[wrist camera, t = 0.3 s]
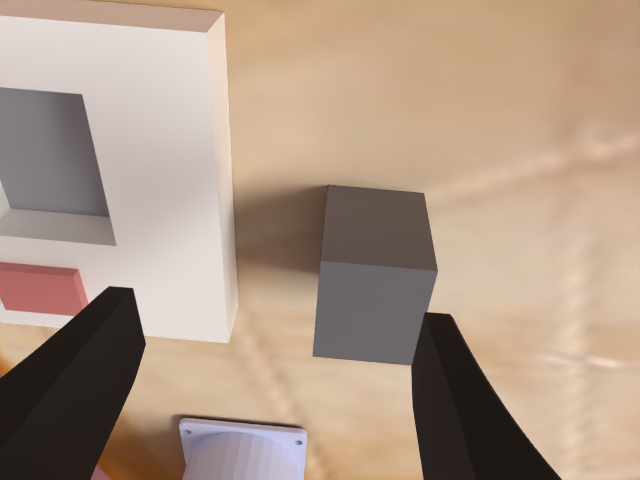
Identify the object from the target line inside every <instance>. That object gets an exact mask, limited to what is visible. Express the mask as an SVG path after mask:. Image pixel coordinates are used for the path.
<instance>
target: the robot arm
mask: <svg viewBox="0 0 640 480" xmlns="http://www.w3.org/2000/svg"><path fill="white" fill-rule="evenodd" d="M145 345H146V343H145V338H144V334H143V329H142V325H141V320H140V316H139V312H138V307H137V303H136V298H135V294H134V289H133V288H127V287H115V286H108V287H107V288H106V289H105V290H104V291H103V292H101V293H100V294H99V295H98V296H97V297H96V298H95V299H93V300H92V301H91V302H90V303H89V304H88V305H87V306H86V307H85V308H83V309H82V310H81V311H80V312H79V313H78V314H77V315H76V316H75V317H73V318H72V319H71V320H70V321H69V322H68V323H67V324H66V325H64V326H63V327H62V328H61V329H60V330H59V331H57V332H56V333H55V334H54V335H53V336H52V337H50V338H49V339H48V340H47V341H46V342H45V343H44V344H42V345H41V346H40V347H39V348H38V349H36V350H35V351H34V352H33V353H32V354H30V355H29V356H28V357H27V358H25V359H24V360H23V361H22V362H20V363H19V364H18V365H16V366H15V367H14V368H13V369H11V370H10V371H9V372H8V373H6V374H5V375H4V376H3V377H1V378H0V480H90V479H91V477H92V474H93V472H94V469H95V467H96V465H97V462H98V460H99V458H100V456H101V454H102V452H103V449H104V447H105V445H106V443H107V441H108V438H109V436H110V434H111V432H112V430H113V428H114V425H115V423H116V421H117V419H118V417H119V415H120V412H121V410H122V408H123V406H124V404H125V401H126V399H127V397H128V395H129V392H130V390H131V388H132V386H133V383H134V381H135V378H136V375H137V372H138V369H139V366H140V362H141V359H142V355H143V352H144V349H145ZM411 370H412V400H413V411H414V418H415V425H416V432H417V438H418V445H419V451H420V458H421V464H422V471H423V478H424V480H562V479H561V478H560V477H559V476H558V475H557V473H556V472H555V471H554V470H553V469H552V468H551V466H550V465H549V464H548V463H547V462H546V460H545V459H544V458H543V457H542V455H541V454H540V453H539V452H538V451H537V449H536V448H535V447H534V446H533V444H532V443H531V442H530V440H529V439H528V438H527V436H526V435H525V434H524V433H523V431H522V430H521V428H520V427H519V426H518V424H517V423H516V422H515V420H514V419H513V417H512V416H511V414H510V413H509V412H508V410H507V409H506V407H505V406H504V404H503V403H502V401H501V400H500V398H499V397H498V395H497V394H496V392H495V391H494V389H493V388H492V386H491V384H490V383H489V381H488V380H487V378H486V376H485V375H484V373H483V372H482V370H481V368H480V367H479V365H478V363H477V362H476V360H475V358H474V356H473V354H472V353H471V351H470V349H469V347H468V346H467V344H466V342H465V340H464V338H463V336H462V334H461V333H460V331H459V329H458V327H457V325H456V323H455V321H454V319H453V317H452V316H451V315H450V314H442V313H429V312H425V313H424V317H423V321H422V325H421V329H420V334H419V338H418V342H417V346H416V350H415V354H414V358H413V362H412V366H411ZM179 430H180V436H181V441H182V447H183V452H184V457H185V463H186V468H185V472H184V475H183V479H182V480H303V479H304V467H305V455H306V443H307V432H306V431H305V430H303V429H300V428H289V427H279V426H268V425H258V424H247V423H236V422H226V421H215V420H205V419H194V418H183V419H181V420H180V423H179Z"/></svg>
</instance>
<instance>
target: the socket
mask: <svg viewBox="0 0 640 480" xmlns="http://www.w3.org/2000/svg"><path fill="white" fill-rule="evenodd" d="M108 286H115V287H127V288H133V289H134V294H135V298H136V303H137V307H138V312H139V316H140V320H141V325H142V329H143V334H144V336H155V337H165V338H176V339H187V340H198V341H209V342H220V343H229V339H230V335H231V331H232V328H233V324H234V320H235V317H236V313H237V309H238V285H237V264H236V244H235V223H234V203H233V182H232V162H231V141H230V121H229V100H228V80H227V59H226V38H225V18H224V12H222V11H210V10H198V9H186V8H174V7H162V6H150V5H138V4H126V3H113V2H101V1H89V0H0V322H3V323H14V324H24V325H35V326H46V327H57V328H62V327H63V326H64V325H66V324H67V323H68V322H69V321H70V320H71V319H72V318H73V317H75V316H76V315H77V314H78V313H79V312H80V311H81V310H82V309H83V308H85V307H86V306H87V305H88V304H89V303H90V302H91V301H92V300H93V299H95V298H96V297H97V296H98V295H99V294H100V293H101V292H103V291H104V290H105V289H106V288H107V287H108Z"/></svg>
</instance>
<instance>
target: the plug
mask: <svg viewBox="0 0 640 480" xmlns="http://www.w3.org/2000/svg"><path fill="white" fill-rule="evenodd" d="M437 273H438V269H437V264H436V258H435V252H434V247H433V241H432V236H431V230H430V224H429V219H428V213H427V208H426V202H425V196H424V193H416V192H404V191H393V190H382V189H370V188H359V187H347V186H336V185H328V189H327V200H326V210H325V220H324V230H323V240H322V250H321V260H320V272H319V285H318V297H317V309H316V322H315V334H314V346H313V357H324V358H335V359H346V360H357V361H368V362H379V363H389V364H400V365H411V366H412V362H413V358H414V354H415V350H416V346H417V342H418V338H419V334H420V329H421V325H422V321H423V317H424V313H425V312H427V310H428V306H429V302H430V299H431V295H432V291H433V287H434V284H435V280H436V276H437Z"/></svg>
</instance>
